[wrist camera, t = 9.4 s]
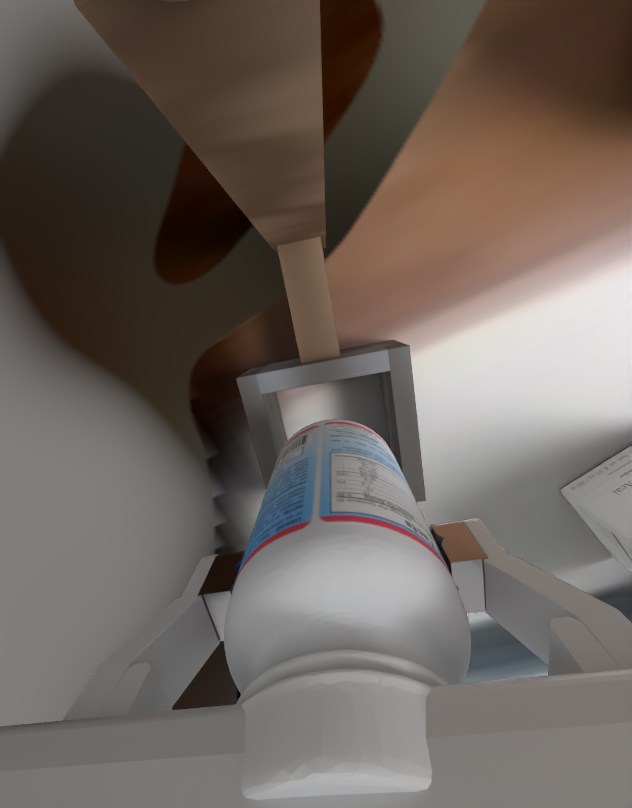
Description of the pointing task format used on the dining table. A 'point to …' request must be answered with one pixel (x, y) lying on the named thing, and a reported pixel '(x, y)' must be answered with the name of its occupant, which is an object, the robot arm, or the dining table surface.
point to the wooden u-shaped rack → (263, 176)
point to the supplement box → (607, 504)
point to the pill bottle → (340, 623)
